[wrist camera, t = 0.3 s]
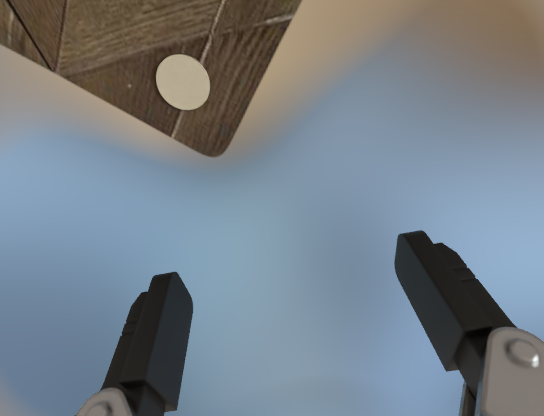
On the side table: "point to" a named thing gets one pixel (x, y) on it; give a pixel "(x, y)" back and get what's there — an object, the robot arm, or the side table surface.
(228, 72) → the side table surface
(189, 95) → the coaster
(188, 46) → the side table surface
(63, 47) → the side table surface
